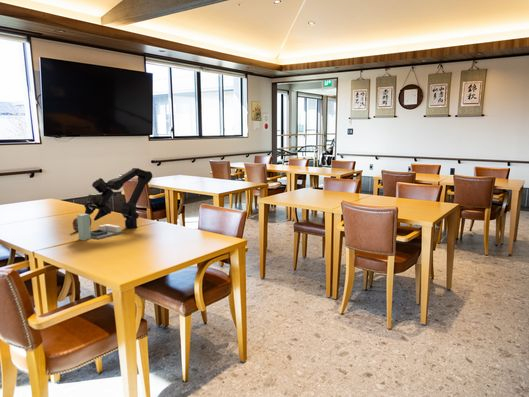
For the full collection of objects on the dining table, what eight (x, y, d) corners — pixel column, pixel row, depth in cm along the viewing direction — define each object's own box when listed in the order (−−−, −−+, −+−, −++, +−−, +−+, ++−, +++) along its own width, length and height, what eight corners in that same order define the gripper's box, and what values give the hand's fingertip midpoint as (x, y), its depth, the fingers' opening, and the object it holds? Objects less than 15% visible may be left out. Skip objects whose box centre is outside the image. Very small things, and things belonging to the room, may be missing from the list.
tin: (76, 232, 239) (75, 219, 237) (72, 232, 239) (71, 218, 238) (92, 227, 253) (91, 214, 252) (87, 226, 254) (87, 213, 252)
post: (85, 237, 228) (84, 213, 226) (90, 238, 226) (89, 214, 224) (78, 239, 224) (77, 214, 222) (83, 240, 222) (82, 215, 220)
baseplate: (108, 229, 247) (108, 223, 246) (124, 232, 240) (123, 226, 239) (82, 235, 232) (82, 229, 231) (98, 239, 225) (97, 232, 224)
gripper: (85, 187, 233) (69, 209, 225) (106, 190, 223) (90, 213, 216) (97, 199, 241) (82, 220, 233) (118, 202, 231) (103, 224, 224)
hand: (89, 219), depth 226 cm, fingers open, 9 cm apart
